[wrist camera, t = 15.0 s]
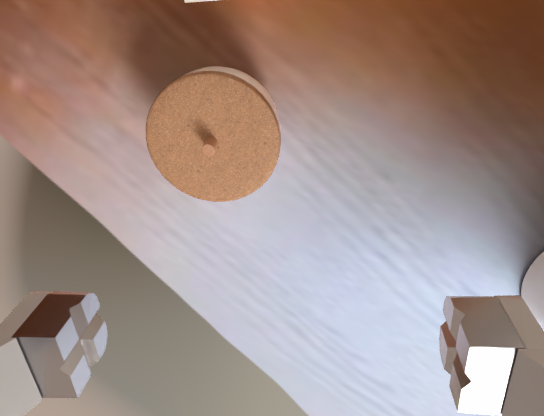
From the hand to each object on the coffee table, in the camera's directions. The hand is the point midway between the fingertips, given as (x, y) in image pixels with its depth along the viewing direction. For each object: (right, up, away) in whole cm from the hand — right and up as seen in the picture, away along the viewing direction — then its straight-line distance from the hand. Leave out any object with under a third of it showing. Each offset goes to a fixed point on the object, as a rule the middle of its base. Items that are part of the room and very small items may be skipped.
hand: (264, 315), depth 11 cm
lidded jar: (-4, +11, +32) cm, 34 cm away
